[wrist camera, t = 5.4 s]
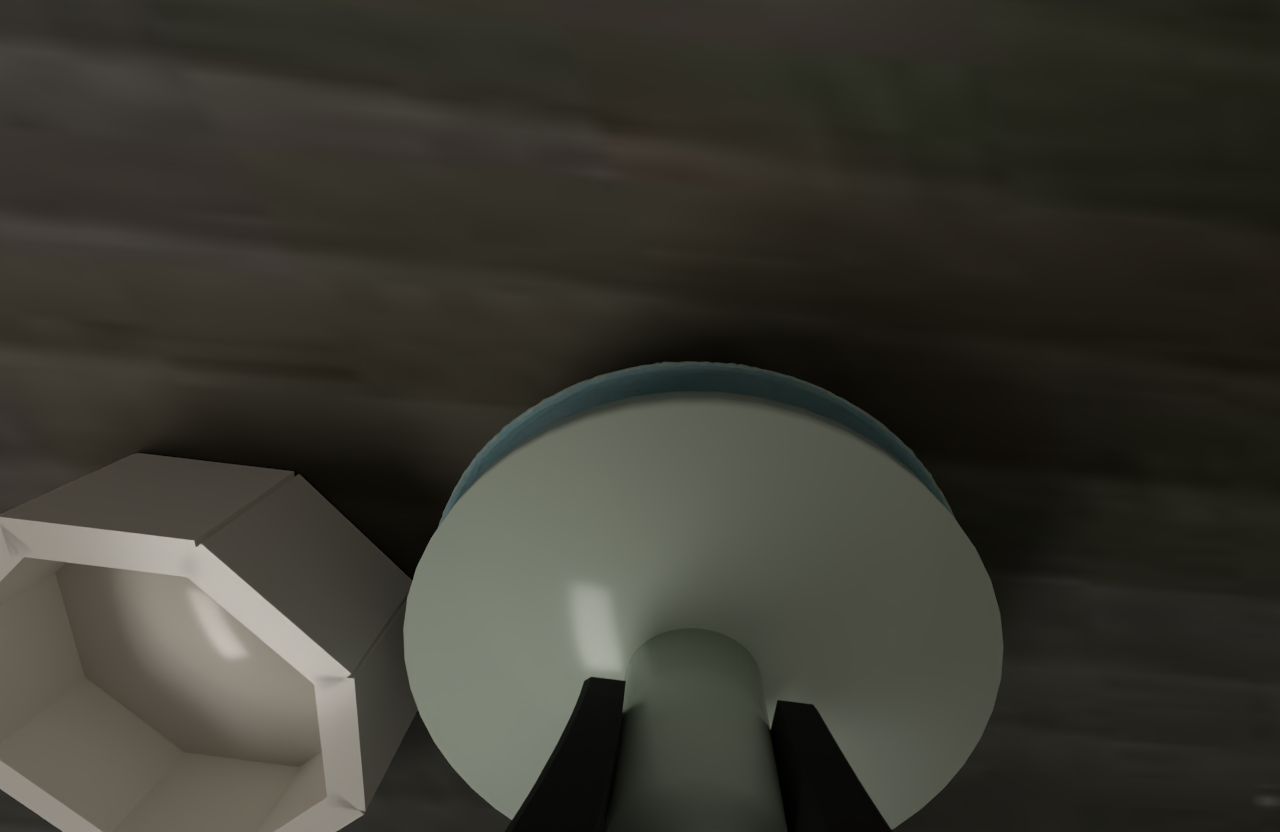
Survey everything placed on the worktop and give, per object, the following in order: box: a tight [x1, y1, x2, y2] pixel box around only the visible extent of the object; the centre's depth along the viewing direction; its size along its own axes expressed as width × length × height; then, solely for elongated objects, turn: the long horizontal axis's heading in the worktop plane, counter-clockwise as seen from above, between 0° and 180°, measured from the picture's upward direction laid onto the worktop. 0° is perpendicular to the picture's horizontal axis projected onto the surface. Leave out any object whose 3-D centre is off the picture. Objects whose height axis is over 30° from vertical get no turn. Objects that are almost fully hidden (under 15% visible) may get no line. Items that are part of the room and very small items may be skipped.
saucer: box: [438, 361, 956, 528], centre depth 14 cm, size 12×12×2 cm
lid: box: [403, 391, 1003, 832], centre depth 10 cm, size 11×11×4 cm
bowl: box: [0, 453, 418, 832], centre depth 15 cm, size 10×10×3 cm
